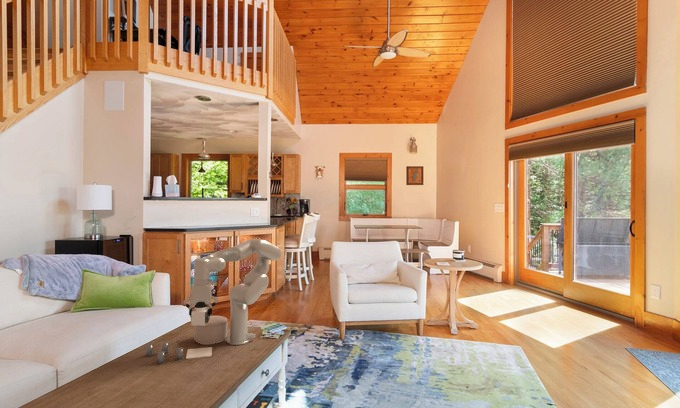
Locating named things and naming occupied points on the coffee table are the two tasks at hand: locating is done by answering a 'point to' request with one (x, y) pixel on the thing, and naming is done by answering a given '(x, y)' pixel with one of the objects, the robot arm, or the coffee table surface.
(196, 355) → the pad
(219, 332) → the container
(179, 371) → the coffee table surface
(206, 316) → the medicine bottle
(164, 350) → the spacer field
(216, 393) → the coffee table surface
